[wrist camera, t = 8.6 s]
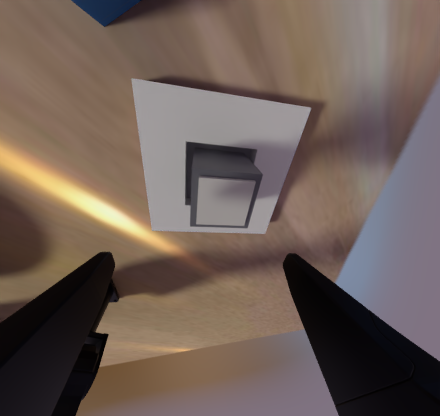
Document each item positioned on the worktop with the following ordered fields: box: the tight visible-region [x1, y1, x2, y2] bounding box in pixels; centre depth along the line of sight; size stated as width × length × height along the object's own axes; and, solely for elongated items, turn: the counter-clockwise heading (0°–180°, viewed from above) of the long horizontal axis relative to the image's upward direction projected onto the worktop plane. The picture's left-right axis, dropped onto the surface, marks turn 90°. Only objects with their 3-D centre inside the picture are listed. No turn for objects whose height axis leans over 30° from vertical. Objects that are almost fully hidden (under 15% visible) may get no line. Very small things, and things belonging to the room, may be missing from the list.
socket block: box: [131, 78, 311, 234], centre depth 17 cm, size 14×14×2 cm
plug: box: [190, 148, 263, 228], centre depth 15 cm, size 5×5×6 cm
